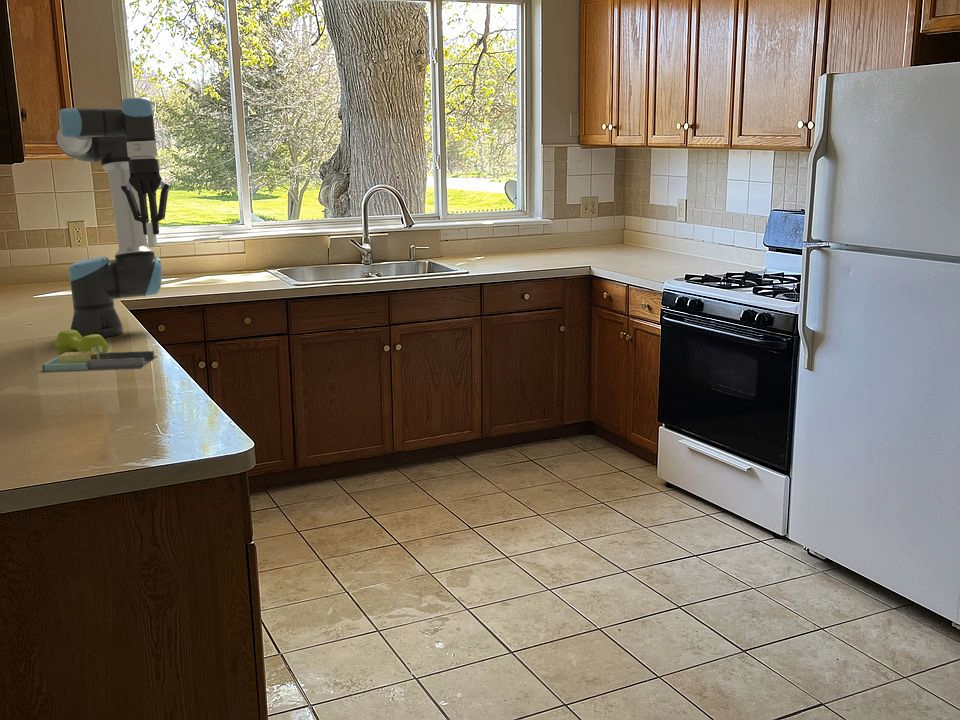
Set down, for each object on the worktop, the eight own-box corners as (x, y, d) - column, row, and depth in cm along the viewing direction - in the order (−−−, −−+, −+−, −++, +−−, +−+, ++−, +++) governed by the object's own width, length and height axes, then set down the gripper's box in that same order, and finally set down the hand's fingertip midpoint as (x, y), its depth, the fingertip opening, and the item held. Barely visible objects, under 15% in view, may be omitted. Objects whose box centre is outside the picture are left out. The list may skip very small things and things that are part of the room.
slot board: (105, 363, 246) (104, 350, 245) (158, 361, 246) (157, 348, 246) (85, 376, 233) (83, 362, 232) (141, 374, 233) (139, 360, 232)
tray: (62, 366, 245) (60, 355, 244) (103, 364, 245) (102, 353, 244) (43, 376, 234) (41, 365, 233) (87, 375, 234) (85, 363, 233)
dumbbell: (54, 357, 257) (50, 332, 255) (81, 352, 263) (78, 327, 261) (84, 365, 246) (80, 338, 245) (112, 359, 252) (108, 333, 251)
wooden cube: (82, 366, 241) (80, 351, 240) (98, 366, 241) (96, 351, 240) (76, 370, 237) (74, 355, 237) (92, 369, 238) (90, 354, 237)
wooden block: (67, 367, 241) (65, 352, 240) (82, 366, 241) (80, 351, 240) (60, 370, 237) (58, 355, 236) (76, 370, 237) (74, 355, 236)
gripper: (113, 159, 242) (124, 249, 248) (163, 157, 242) (172, 247, 248) (123, 158, 250) (133, 246, 255) (171, 157, 250) (181, 244, 255)
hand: (152, 246), depth 251 cm, fingers closed
